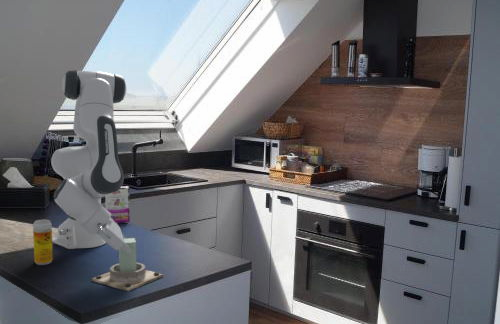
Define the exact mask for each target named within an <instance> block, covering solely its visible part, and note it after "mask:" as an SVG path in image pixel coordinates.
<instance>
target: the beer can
mask: <svg viewBox="0 0 500 324" xmlns="http://www.w3.org/2000/svg"><path fill="white" fill-rule="evenodd" d="M52 231H53V229H52V222H51V220H50V219H45V218H44V219H36V220H35V221H33V224H32V234H33V256H34V263H35V264H36V265H38V266H45V265H49V264H51V263H52V261H53V260H54V256H53V254H54V253H53V242H52V238H53V232H52Z"/></svg>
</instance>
